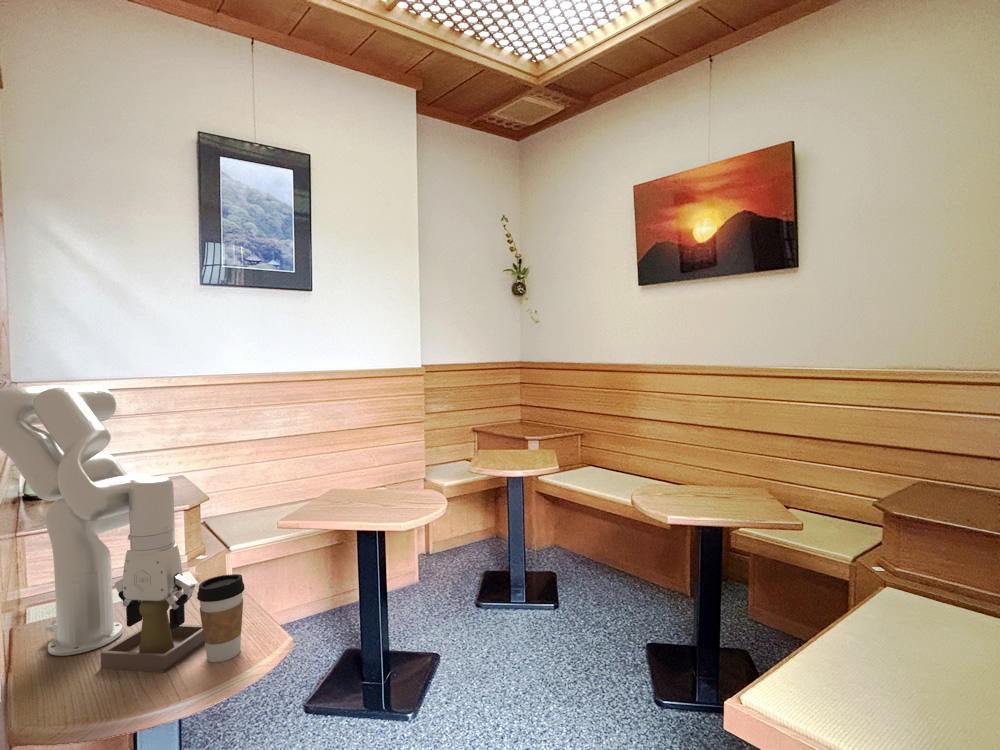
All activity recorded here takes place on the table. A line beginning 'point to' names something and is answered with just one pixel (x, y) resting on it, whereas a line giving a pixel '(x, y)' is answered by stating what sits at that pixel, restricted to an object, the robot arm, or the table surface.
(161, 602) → the tan tall rounded piece
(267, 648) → the table surface
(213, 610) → the coffee cup
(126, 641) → the lacquer tray
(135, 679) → the table surface
